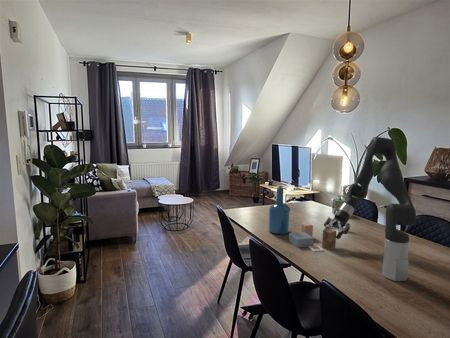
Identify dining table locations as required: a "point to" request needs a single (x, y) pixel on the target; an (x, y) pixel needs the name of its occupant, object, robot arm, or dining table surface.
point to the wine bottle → (279, 215)
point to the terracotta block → (307, 228)
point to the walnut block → (329, 239)
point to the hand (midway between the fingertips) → (330, 236)
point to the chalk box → (337, 204)
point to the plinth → (301, 239)
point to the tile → (315, 248)
